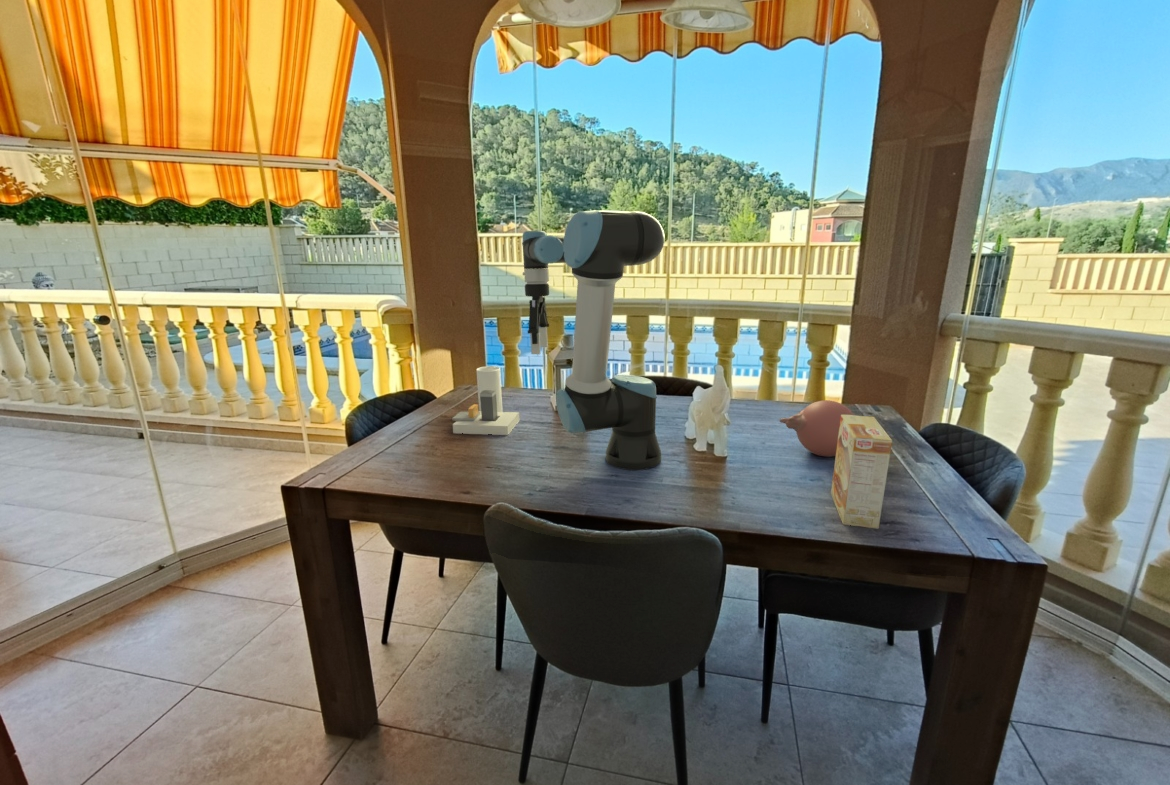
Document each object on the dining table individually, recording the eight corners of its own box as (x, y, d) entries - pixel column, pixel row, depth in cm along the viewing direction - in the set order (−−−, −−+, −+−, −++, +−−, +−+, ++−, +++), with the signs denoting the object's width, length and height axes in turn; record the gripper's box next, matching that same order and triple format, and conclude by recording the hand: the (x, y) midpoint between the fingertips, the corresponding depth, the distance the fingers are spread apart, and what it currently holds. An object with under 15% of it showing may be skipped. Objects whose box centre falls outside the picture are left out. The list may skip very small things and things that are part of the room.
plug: (498, 425, 168) (496, 390, 165) (494, 429, 164) (492, 393, 161) (486, 424, 169) (483, 390, 165) (482, 428, 165) (479, 393, 161)
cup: (483, 408, 187) (480, 365, 182) (505, 408, 186) (502, 366, 181) (476, 414, 179) (472, 371, 175) (498, 415, 178) (495, 371, 174)
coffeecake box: (829, 492, 118) (839, 413, 113) (863, 496, 116) (875, 416, 111) (841, 524, 104) (853, 436, 99) (879, 529, 102) (894, 440, 97)
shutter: (480, 414, 169) (479, 403, 168) (473, 421, 163) (472, 409, 162) (460, 413, 170) (459, 403, 169) (452, 420, 164) (451, 409, 163)
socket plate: (519, 420, 172) (519, 412, 171) (508, 435, 159) (507, 426, 158) (468, 419, 174) (468, 411, 174) (453, 433, 161) (452, 424, 160)
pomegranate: (773, 441, 150) (777, 391, 146) (846, 446, 146) (852, 395, 142) (780, 461, 136) (785, 407, 132) (861, 467, 131) (869, 411, 127)
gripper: (532, 281, 169) (535, 344, 175) (516, 285, 145) (520, 357, 151) (554, 281, 169) (557, 344, 174) (541, 284, 145) (544, 357, 150)
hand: (539, 350), depth 162 cm, fingers open, 13 cm apart
